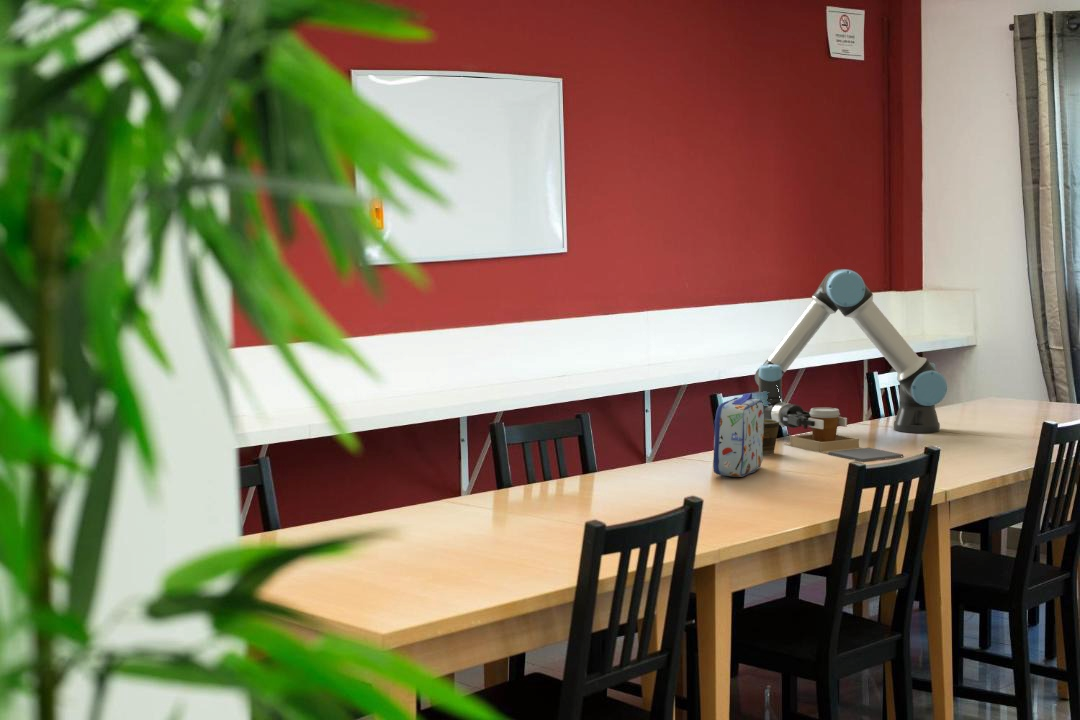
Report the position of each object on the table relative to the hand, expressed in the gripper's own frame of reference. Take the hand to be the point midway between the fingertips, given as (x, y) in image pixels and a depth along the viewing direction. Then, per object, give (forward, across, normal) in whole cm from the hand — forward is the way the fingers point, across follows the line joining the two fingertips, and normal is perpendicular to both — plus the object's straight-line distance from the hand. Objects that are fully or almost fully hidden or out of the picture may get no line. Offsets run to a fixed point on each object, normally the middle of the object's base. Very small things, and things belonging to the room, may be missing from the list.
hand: (834, 423), depth 402 cm
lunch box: (+17, +49, -8) cm, 53 cm away
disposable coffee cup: (-5, 0, -8) cm, 9 cm away
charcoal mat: (+14, 0, -8) cm, 16 cm away
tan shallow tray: (-5, 0, -8) cm, 9 cm away
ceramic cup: (-5, +25, -8) cm, 27 cm away
